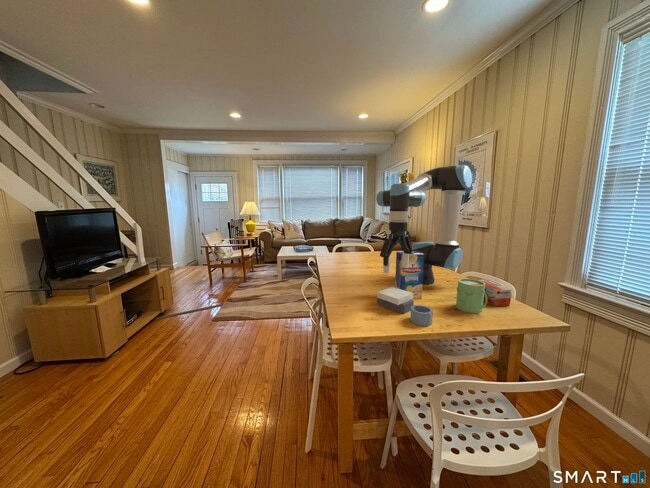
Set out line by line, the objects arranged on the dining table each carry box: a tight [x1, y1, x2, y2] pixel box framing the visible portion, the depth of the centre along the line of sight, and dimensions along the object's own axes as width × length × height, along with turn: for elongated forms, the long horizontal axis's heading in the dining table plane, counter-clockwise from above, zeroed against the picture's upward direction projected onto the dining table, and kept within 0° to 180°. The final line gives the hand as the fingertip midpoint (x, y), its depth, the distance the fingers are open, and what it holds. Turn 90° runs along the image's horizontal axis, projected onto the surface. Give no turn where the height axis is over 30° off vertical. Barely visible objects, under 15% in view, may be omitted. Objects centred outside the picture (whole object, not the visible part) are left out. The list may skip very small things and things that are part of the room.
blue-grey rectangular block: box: [376, 297, 415, 315], centre depth 112 cm, size 7×14×4 cm, turn 40°
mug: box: [455, 278, 488, 314], centre depth 109 cm, size 13×10×12 cm
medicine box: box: [478, 279, 512, 307], centre depth 120 cm, size 15×8×8 cm, turn 8°
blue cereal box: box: [394, 251, 424, 300], centre depth 123 cm, size 7×11×22 cm, turn 96°
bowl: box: [409, 304, 434, 327], centre depth 98 cm, size 8×8×5 cm
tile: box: [376, 286, 414, 305], centre depth 112 cm, size 11×11×2 cm
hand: (396, 270), depth 110 cm, fingers open, 13 cm apart
